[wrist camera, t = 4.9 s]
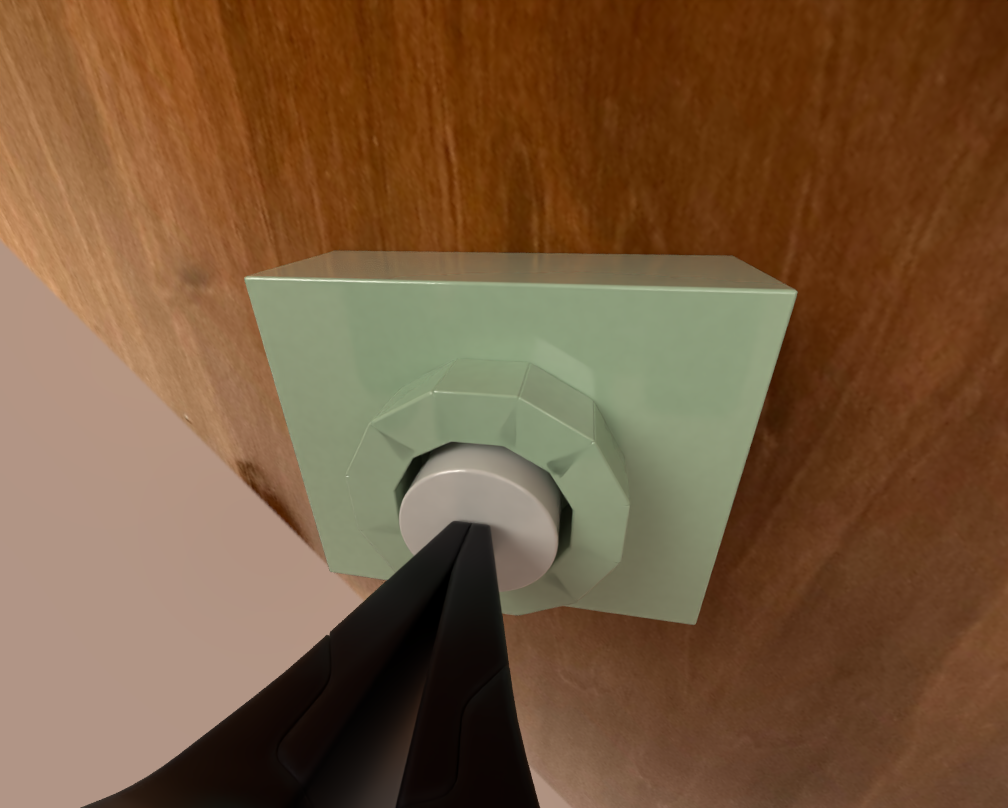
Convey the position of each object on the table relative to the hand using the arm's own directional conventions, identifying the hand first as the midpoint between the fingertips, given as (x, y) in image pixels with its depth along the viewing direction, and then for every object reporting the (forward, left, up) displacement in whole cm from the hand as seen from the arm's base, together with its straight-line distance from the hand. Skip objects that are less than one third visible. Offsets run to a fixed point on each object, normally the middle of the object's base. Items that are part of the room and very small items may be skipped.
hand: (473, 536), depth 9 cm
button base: (0, 0, -7) cm, 7 cm away
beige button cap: (0, 0, -2) cm, 2 cm away
